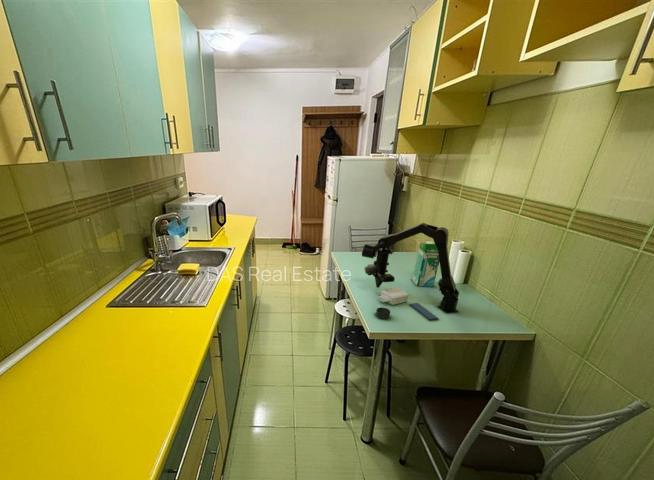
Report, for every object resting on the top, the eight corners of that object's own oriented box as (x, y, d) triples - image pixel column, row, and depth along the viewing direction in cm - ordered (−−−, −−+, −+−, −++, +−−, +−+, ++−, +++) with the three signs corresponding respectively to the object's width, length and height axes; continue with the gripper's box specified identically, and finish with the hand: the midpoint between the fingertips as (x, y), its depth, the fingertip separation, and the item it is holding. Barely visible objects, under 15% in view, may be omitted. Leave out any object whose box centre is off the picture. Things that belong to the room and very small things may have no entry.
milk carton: (427, 280, 179) (437, 239, 169) (433, 287, 171) (443, 244, 161) (412, 279, 180) (420, 239, 170) (416, 286, 172) (426, 243, 162)
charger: (371, 300, 154) (393, 295, 160) (383, 308, 147) (406, 302, 153) (372, 291, 152) (394, 286, 158) (385, 299, 145) (408, 294, 151)
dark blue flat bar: (417, 304, 151) (417, 302, 151) (438, 319, 138) (438, 318, 138) (409, 305, 150) (409, 303, 150) (429, 320, 137) (429, 319, 137)
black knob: (384, 312, 143) (385, 306, 142) (391, 318, 138) (393, 312, 136) (373, 313, 142) (374, 307, 140) (379, 320, 136) (381, 314, 135)
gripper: (359, 255, 164) (356, 281, 170) (377, 267, 147) (372, 296, 153) (378, 254, 166) (374, 280, 172) (397, 266, 149) (392, 294, 156)
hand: (377, 287), depth 163 cm, fingers closed
